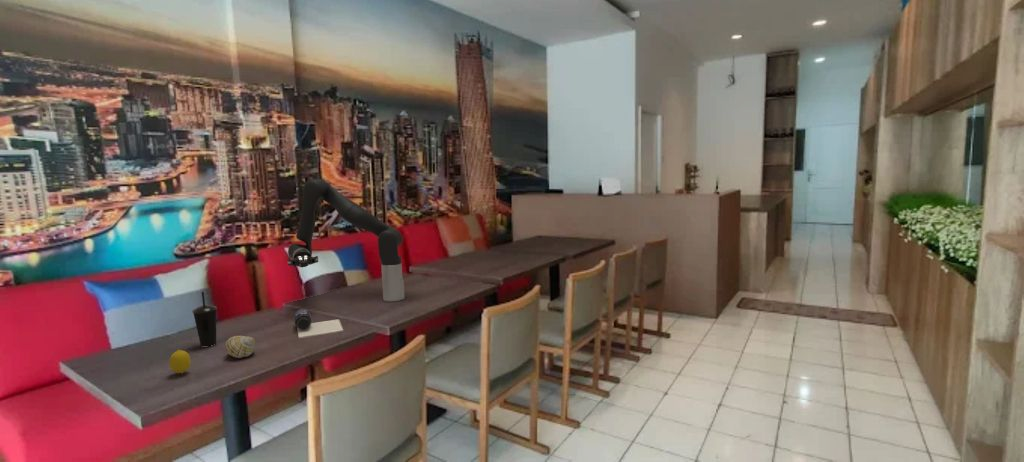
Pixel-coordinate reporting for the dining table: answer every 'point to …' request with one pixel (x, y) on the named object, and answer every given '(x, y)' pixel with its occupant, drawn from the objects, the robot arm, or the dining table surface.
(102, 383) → the dining table surface
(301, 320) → the pill bottle
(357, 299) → the dining table surface
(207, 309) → the drinking cup
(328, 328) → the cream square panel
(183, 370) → the lemon
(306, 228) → the robot arm
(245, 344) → the yarn ball
